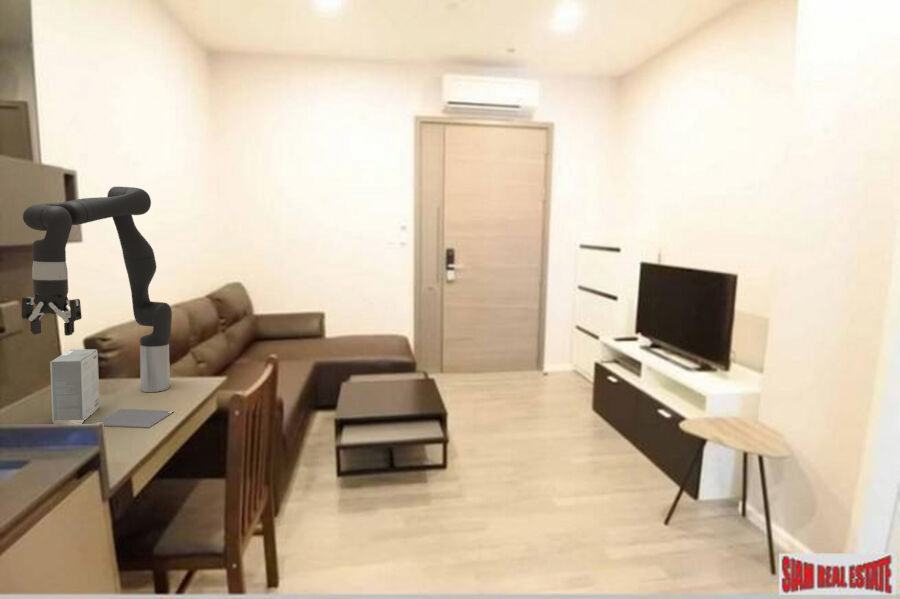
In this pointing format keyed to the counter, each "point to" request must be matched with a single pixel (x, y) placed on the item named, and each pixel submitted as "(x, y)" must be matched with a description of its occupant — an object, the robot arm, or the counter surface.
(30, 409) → the counter surface
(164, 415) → the rubber mat
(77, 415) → the hard drive box
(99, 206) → the robot arm
